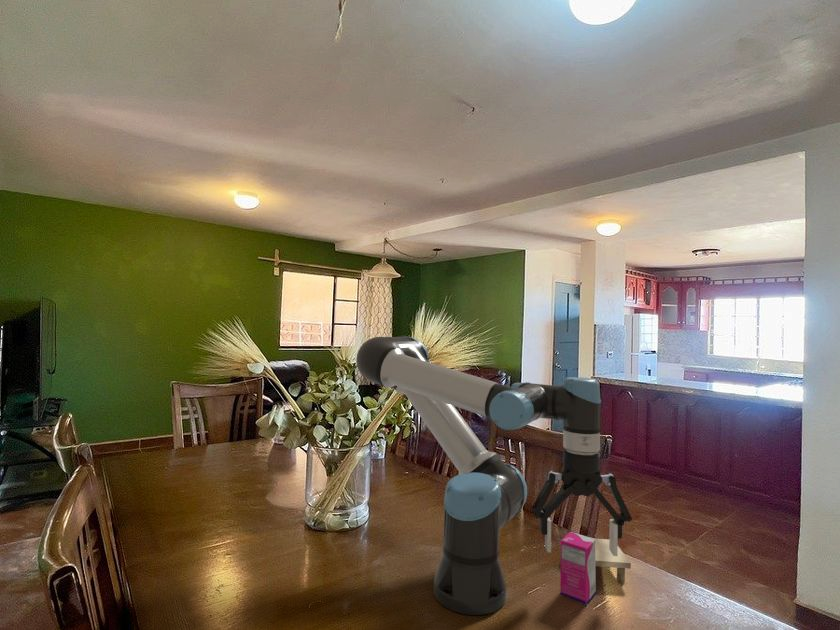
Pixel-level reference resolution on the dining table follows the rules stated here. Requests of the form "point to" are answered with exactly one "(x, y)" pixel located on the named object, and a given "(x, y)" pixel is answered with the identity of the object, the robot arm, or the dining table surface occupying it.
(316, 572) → the dining table surface
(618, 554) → the footstool
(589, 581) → the supplement box
